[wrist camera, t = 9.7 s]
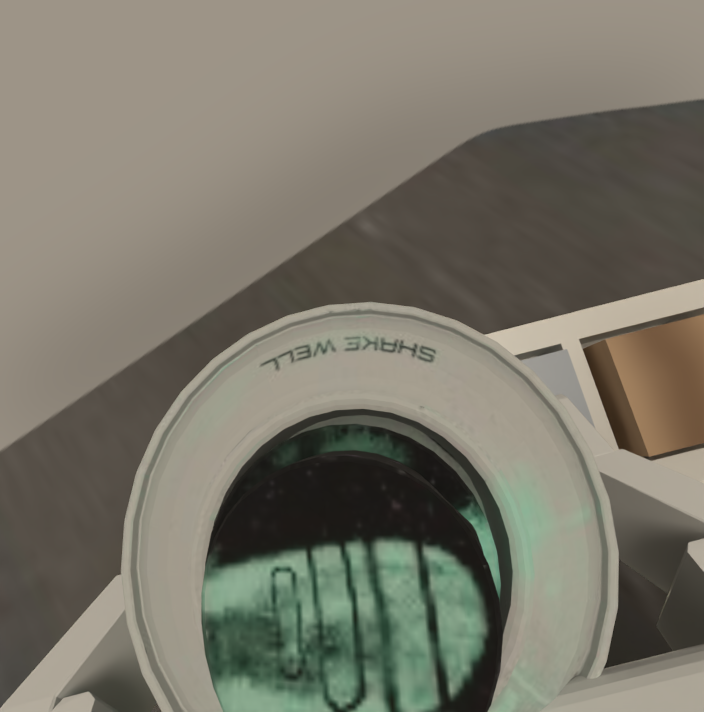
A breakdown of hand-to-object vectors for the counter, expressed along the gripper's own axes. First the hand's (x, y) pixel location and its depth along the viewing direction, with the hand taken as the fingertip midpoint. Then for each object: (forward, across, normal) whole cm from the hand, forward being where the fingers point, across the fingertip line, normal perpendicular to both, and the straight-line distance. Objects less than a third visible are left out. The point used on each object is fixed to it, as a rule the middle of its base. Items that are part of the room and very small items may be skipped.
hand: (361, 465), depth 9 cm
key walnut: (+11, -16, +12) cm, 23 cm away
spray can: (+9, 0, +10) cm, 13 cm away
